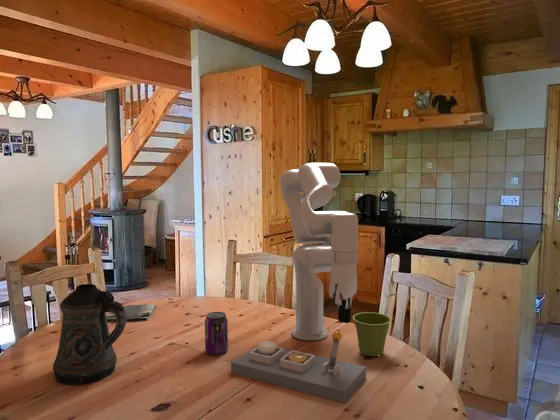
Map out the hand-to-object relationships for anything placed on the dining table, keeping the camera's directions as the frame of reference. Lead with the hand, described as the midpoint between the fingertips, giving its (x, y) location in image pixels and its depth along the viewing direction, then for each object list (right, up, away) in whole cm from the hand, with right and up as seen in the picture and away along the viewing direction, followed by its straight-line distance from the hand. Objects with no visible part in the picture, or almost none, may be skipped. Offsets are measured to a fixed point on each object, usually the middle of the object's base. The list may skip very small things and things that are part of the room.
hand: (344, 321), depth 123 cm
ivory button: (-22, -9, +3) cm, 24 cm away
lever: (-5, -12, -6) cm, 14 cm away
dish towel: (-79, -12, +54) cm, 96 cm away
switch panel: (-13, -15, -1) cm, 20 cm away
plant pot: (+10, -14, +14) cm, 22 cm away
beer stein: (-72, -15, +1) cm, 73 cm away
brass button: (-13, -11, -1) cm, 17 cm away
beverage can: (-38, -14, +15) cm, 43 cm away
